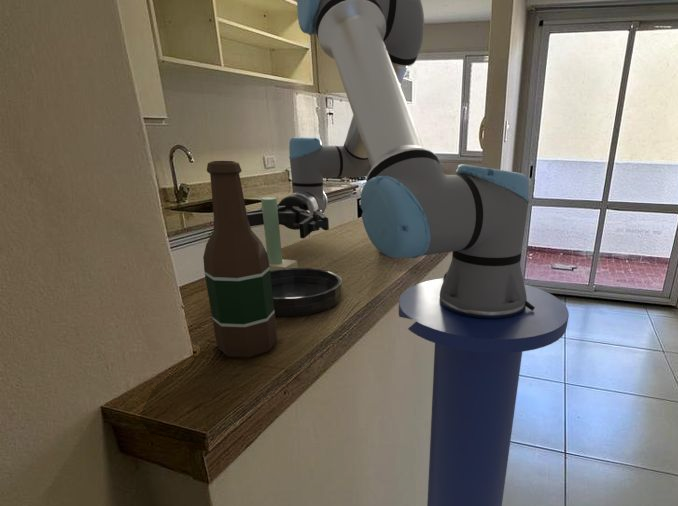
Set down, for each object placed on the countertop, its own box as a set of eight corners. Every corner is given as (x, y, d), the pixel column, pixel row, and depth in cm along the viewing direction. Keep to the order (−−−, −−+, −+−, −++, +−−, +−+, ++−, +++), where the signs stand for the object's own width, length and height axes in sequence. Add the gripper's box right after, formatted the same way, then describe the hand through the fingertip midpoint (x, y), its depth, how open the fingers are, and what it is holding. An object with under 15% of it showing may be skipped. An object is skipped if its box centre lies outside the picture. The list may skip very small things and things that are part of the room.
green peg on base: (298, 271, 92) (292, 197, 86) (286, 279, 88) (279, 201, 82) (267, 268, 94) (259, 195, 88) (254, 275, 89) (244, 199, 83)
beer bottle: (289, 340, 63) (272, 161, 54) (249, 364, 57) (221, 165, 47) (247, 329, 66) (224, 158, 57) (204, 351, 59) (170, 161, 50)
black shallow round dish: (354, 288, 84) (354, 272, 82) (319, 322, 69) (318, 303, 68) (275, 280, 87) (273, 264, 85) (225, 311, 72) (222, 292, 71)
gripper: (352, 228, 104) (332, 251, 85) (246, 224, 105) (203, 247, 85) (350, 195, 102) (330, 211, 82) (242, 192, 102) (196, 207, 82)
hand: (265, 229), depth 84 cm, fingers open, 13 cm apart
